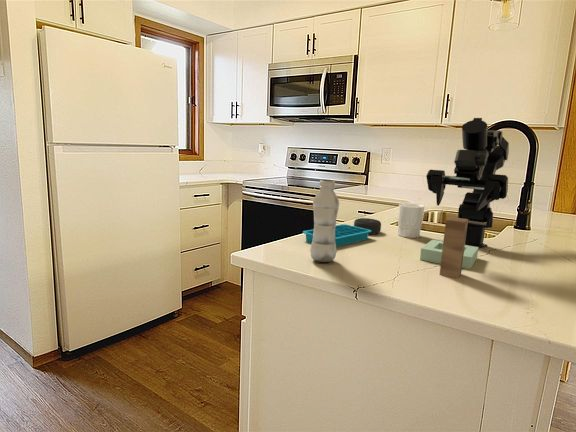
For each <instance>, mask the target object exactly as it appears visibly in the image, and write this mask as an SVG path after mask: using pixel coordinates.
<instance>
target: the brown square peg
mask: <svg viewBox="0 0 576 432" xmlns="http://www.w3.org/2000/svg"><path fill="white" fill-rule="evenodd" d="M467 225H468V219H461V218H458V217H452V216H448V217H447V218H446V219H445V225H444V232H443V233H444V235H443V249H442V258H441V264H440V266H439V267H440V268H439V276H444V277H448V278H449V277H450V278H453V279H459V277H460V276H461V275H462V272H463V271H462V270H463V268H462V263H463V255H464V248H465V240H466V232H467Z"/></svg>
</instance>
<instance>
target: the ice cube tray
mask: <svg viewBox="0 0 576 432" xmlns="http://www.w3.org/2000/svg"><path fill="white" fill-rule="evenodd" d="M335 226H336V227H335V243H336V248H337V247H340V246H345V245H349V244H354V243H356V242H362V241H366V240H368V238H369V234H368V233H370V232H372V231H371V230H368V229H364V228H360V227H355V226H354V225H350V224H346V223H344V224H337V225H335ZM313 232H314V228H313V229H308V230H303V231H302V233H303V234H304V235H305V240H306V241H305V242H309V243H311V244H312V240H313Z"/></svg>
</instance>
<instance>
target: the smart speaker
mask: <svg viewBox="0 0 576 432" xmlns="http://www.w3.org/2000/svg"><path fill="white" fill-rule="evenodd" d="M353 226H355V227H360V228H364V229H368V230H371V231H372V232H370V233H368V235H377V234H379V233H380V232H381V231H382V223H381V221H380V220H378V219H374V218H369V217H368V218H367V217H364V218H363V217H360V218H359V217H358V218H356V219H355V220H354V221H353Z"/></svg>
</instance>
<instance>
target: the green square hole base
mask: <svg viewBox="0 0 576 432" xmlns="http://www.w3.org/2000/svg"><path fill="white" fill-rule="evenodd" d="M443 241H444V240H443ZM443 241H442V240H437V239H431V240H430V241H429V242H427V243H426V244H425V245H424V246H422V247H421V248H420V256H419V260H420V261H426V262H431V263H434V264H440V265H441V258H442V249H443ZM479 248H480V247H474V246H468V245H465V248H464V255H463V263H462V269H466V270H471V269H472V267H473V265H474V264H475V262H476V260H477V259H478V256H479V255H478V254H479Z"/></svg>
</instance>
